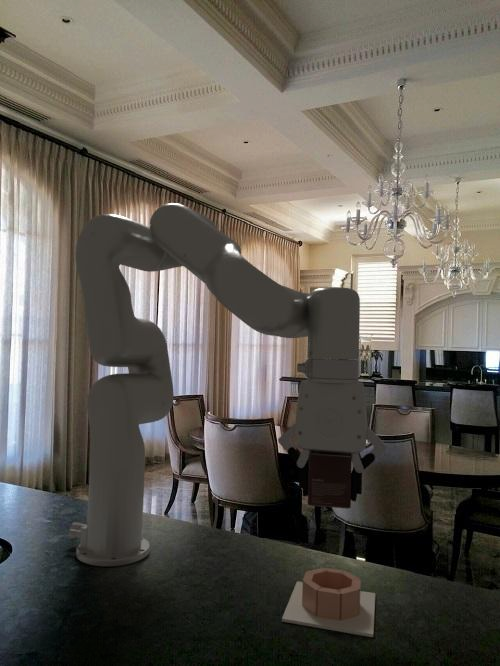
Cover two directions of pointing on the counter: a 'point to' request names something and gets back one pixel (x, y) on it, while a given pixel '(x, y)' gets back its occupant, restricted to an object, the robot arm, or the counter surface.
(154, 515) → the counter surface
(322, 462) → the box
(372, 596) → the placemat
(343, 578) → the bowl
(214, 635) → the counter surface
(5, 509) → the counter surface
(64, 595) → the counter surface
